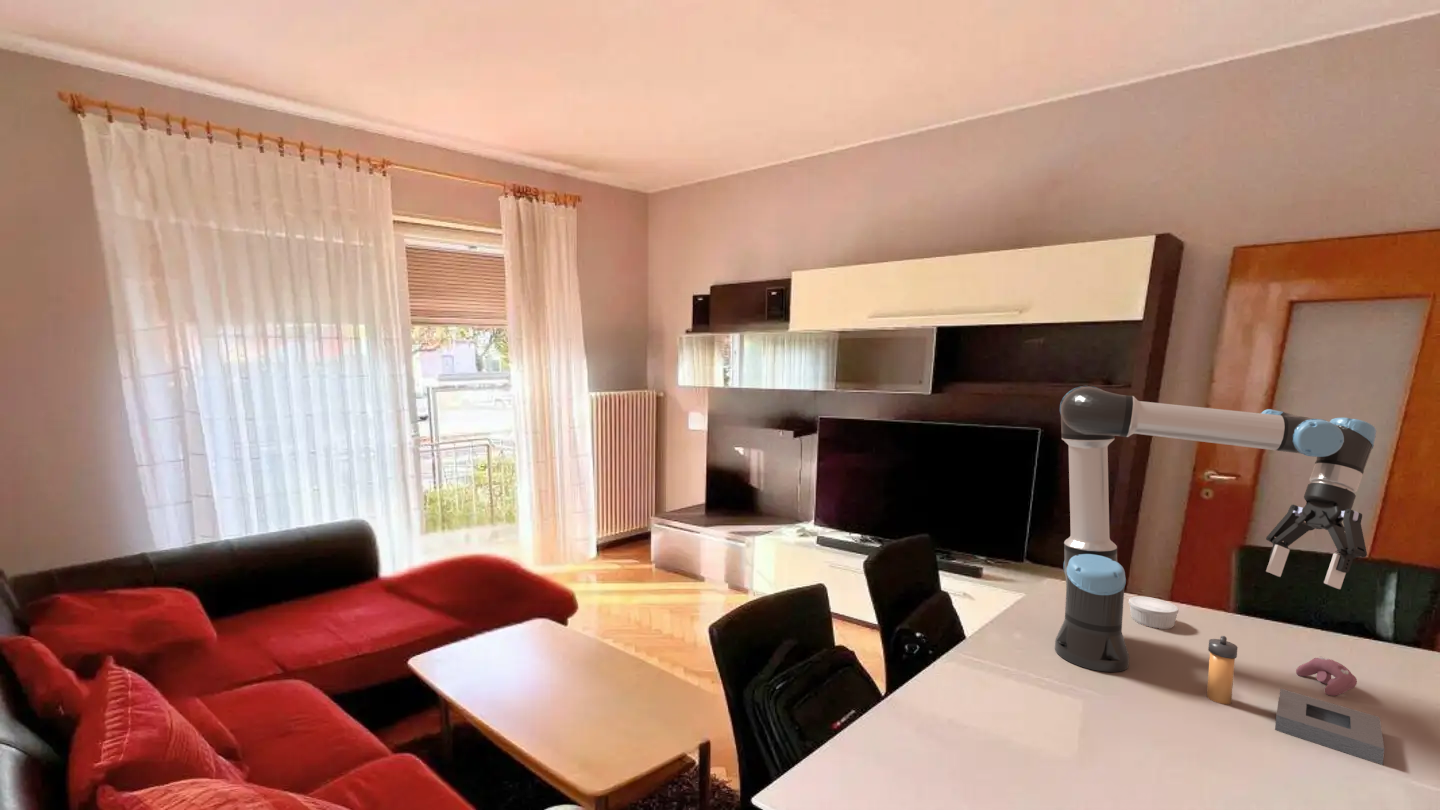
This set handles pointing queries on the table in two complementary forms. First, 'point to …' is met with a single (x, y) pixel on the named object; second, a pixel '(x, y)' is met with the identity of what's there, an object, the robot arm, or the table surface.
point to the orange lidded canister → (1221, 670)
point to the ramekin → (1153, 612)
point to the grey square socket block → (1330, 725)
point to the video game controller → (1329, 675)
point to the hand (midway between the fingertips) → (1300, 580)
